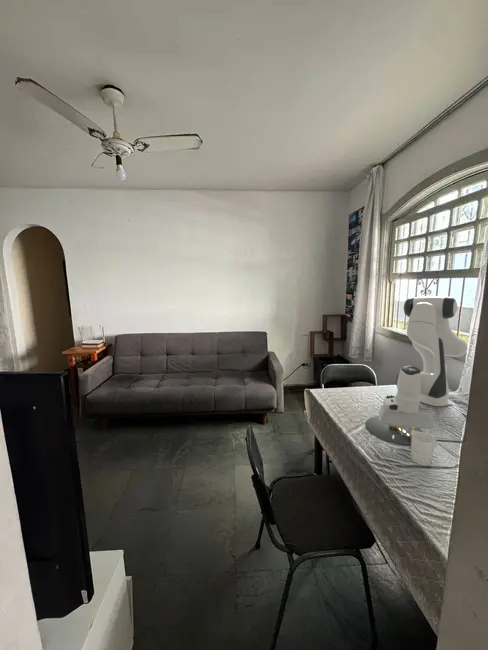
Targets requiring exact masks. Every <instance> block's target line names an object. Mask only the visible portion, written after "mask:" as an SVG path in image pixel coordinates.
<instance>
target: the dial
mask: <svg viewBox="0 0 488 650" xmlns="http://www.w3.org/2000/svg"><path fill="white" fill-rule="evenodd" d="M365 427H366V429H367V430H368V431H369V433H371V435H373V436H375V437H376V438H378V439H381V440H384V441H386V442H389V443H391V444H397V445H404V446H411V442H410V441H409V440H408V439H409V438H407V437H406V436H404V435H401V432H399V431H398V430H393V429H390V428H389V424H382V423H381V422H380V420H379V415H376V416H371V417H369V418H368V419H367V420H366V421H365ZM406 428H407V427H405V426H403V428H402V430H405V429H406ZM416 432H423V429H421V428H416ZM407 433H408V434H409V432H407Z"/></svg>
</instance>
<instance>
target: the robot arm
mask: <svg viewBox="0 0 488 650" xmlns="http://www.w3.org/2000/svg"><path fill="white" fill-rule="evenodd" d="M457 311H458V302H457V300H456V298H454V297H452V296H438V295H431V296H418V297H417V296H413V297H409V298H407V299H405V302H404V304H403V312H404V315H405V316H406V317H407V318H408V321H407V328H406V336H407V337H408V339H409V340H410V341H411V344H412V347H413V348H414V350H416V351H417V353H418V354H419V355H420V357H421V359H422V363H423V364H422V365H423V369H422V370H423V371H422V370H421V369H420V368H419V367H416V366H411V365H403V366H402V367H401V368H400V371H399V372H397V374H396V378H395V379H396V381H395V385H396V389H397V392H396V394H395V396H396V397H395V396H394V397H393V398H387V399H386V398H384V399H383V404H382V405H381V407H380V410H379V414H378V416H379V420H380V422H381V423H382V424H390V425H398V426H399V428H400V429H401V435H404V436H407V432H409V431H410V430H411V427H413V428H420V429H421V430H429V431H430V430H432V429H433V428H434V417H435V413H436V412H435V410H434V409H433V408H432V407H430V406H434V407H445V406H452V404H453V403H452V402H451V401H450V400H449V396H450V390H449V381H448V379H447V375H448V366H447V364H446V360H445V359H446V357H449V358H460V357H463V356H464V355H465V354H466V353H467V351H468V344H467V342H466V340H464V339H463V338H461V337H459V336H458V335H457V334H455V333H454V331H453V330H452V328H451V327H450V321H449V319H451V318H453V317H454V316H455V315H456V313H457ZM421 403H423V404H425V405H429V406H426V407H425V406H422V405H420V404H421ZM403 426H405V427H407V428H406V429H405V430H402V428H403Z"/></svg>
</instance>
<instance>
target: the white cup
mask: <svg viewBox="0 0 488 650" xmlns="http://www.w3.org/2000/svg"><path fill="white" fill-rule="evenodd" d="M436 440H437V439H436V437H434V436H433V435H431V434H430V433H426V432H425V431H422V432H413V433H412V437H411V445H410V458H411V459H410V460H411V461H413V462H414V463H416V464H417V465H420V466H424V467H428V466H429V467H430V466H431V464H432V461H433V457H434V452H435V448H436V442H437V441H436Z"/></svg>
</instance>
